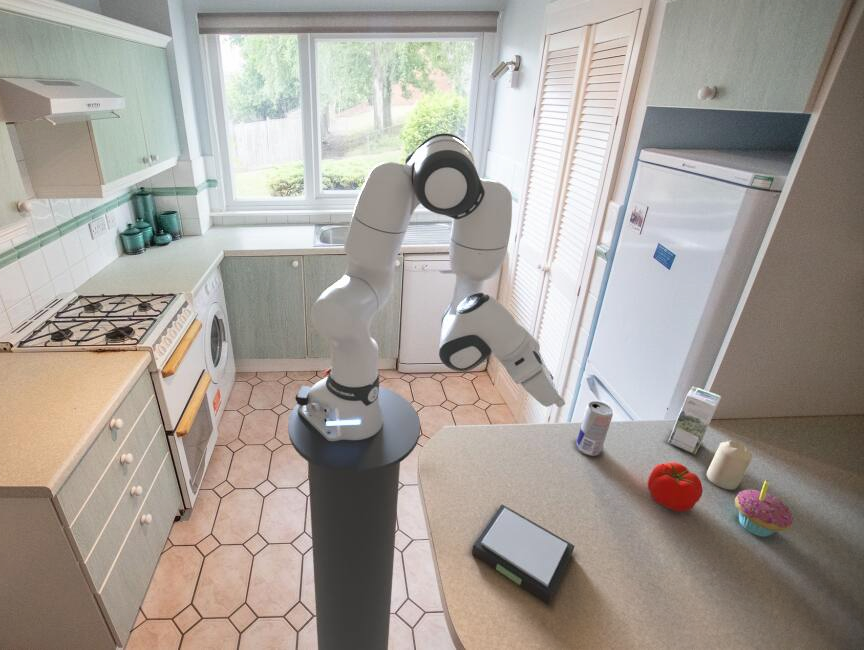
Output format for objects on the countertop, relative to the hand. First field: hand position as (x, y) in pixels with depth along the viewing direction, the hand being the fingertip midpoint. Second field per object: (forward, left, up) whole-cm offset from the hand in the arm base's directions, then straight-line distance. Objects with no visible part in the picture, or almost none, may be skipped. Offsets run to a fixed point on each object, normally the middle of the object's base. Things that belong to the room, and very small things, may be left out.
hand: (555, 390), depth 102 cm
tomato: (+26, +1, -16) cm, 30 cm away
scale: (+8, -31, -16) cm, 36 cm away
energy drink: (+9, +6, -16) cm, 19 cm away
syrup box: (+26, +23, -16) cm, 38 cm away
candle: (+34, +15, -16) cm, 40 cm away
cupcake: (+40, +5, -16) cm, 43 cm away
